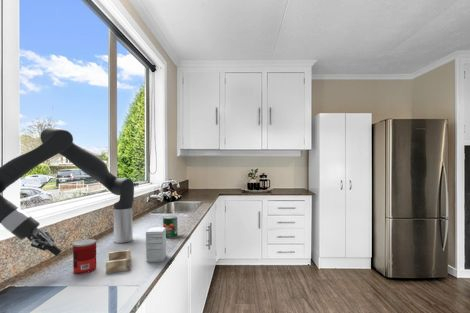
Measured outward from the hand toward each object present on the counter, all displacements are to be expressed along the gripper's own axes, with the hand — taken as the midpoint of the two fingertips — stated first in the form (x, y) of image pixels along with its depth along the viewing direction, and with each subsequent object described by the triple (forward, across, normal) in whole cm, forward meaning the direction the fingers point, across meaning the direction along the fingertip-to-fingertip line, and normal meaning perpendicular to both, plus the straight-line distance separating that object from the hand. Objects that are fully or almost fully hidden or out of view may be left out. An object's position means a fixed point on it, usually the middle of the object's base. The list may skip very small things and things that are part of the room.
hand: (59, 253), depth 105 cm
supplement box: (+31, +2, -20) cm, 36 cm away
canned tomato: (+37, +36, -27) cm, 58 cm away
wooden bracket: (+20, 0, -9) cm, 22 cm away
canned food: (+12, 0, -1) cm, 12 cm away
